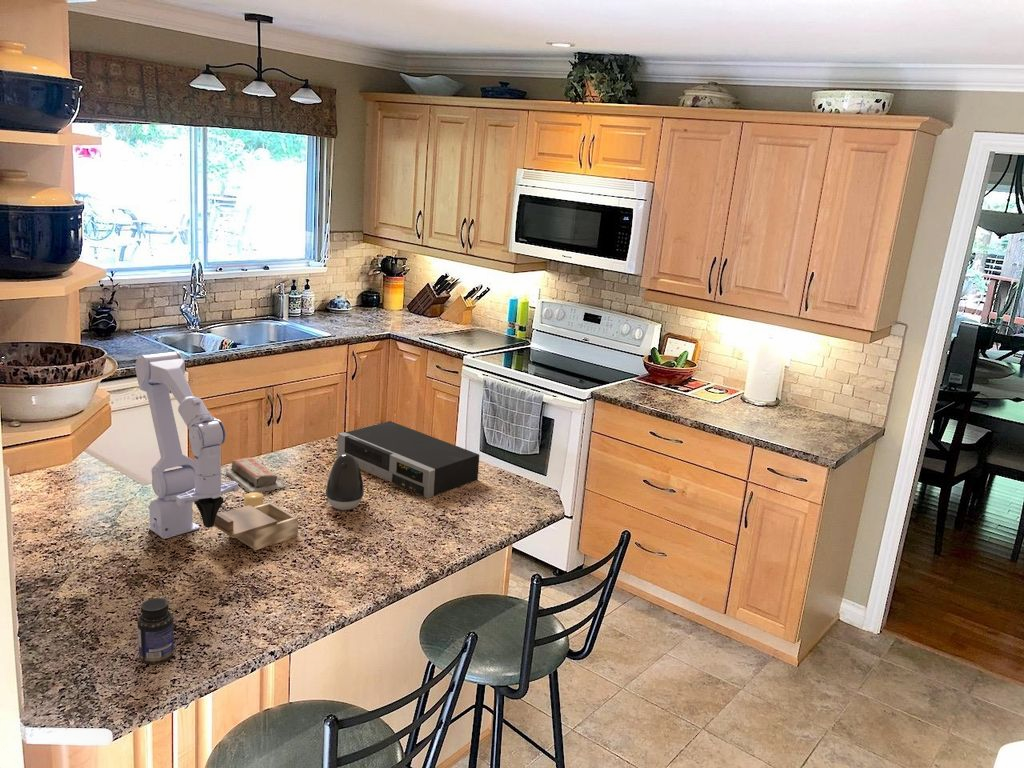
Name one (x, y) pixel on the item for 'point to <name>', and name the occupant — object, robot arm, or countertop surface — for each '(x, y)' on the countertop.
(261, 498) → the cream bullet-shaped knob
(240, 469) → the packaged product
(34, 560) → the countertop surface
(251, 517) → the lid
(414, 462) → the vcr player
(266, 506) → the wooden box
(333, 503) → the black egg-shaped device
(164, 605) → the pill bottle
